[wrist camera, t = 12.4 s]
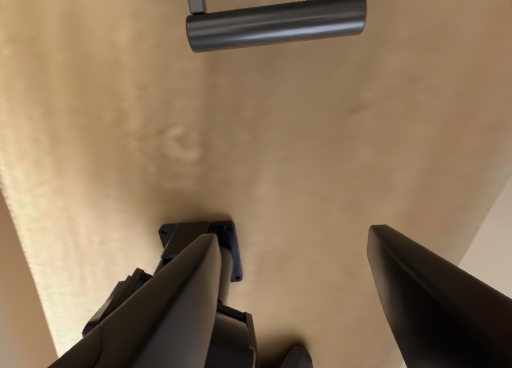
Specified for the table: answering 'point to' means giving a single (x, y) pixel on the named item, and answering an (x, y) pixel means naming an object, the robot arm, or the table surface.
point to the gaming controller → (297, 358)
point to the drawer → (272, 23)
